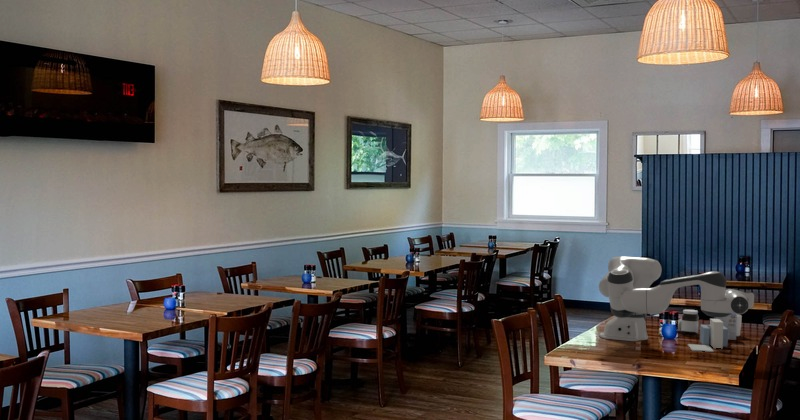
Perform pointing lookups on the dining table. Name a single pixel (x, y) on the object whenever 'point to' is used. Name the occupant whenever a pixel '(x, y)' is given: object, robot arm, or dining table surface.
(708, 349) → the mat
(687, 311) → the spread jar
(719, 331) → the white rectangular block
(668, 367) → the dining table surface
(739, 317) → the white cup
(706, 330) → the slotted box
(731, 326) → the ink cartridge box
